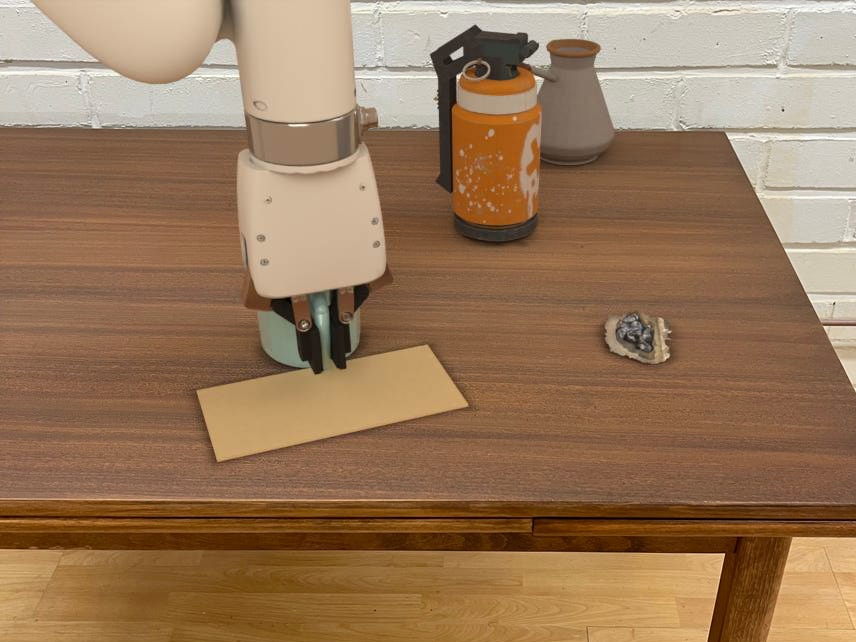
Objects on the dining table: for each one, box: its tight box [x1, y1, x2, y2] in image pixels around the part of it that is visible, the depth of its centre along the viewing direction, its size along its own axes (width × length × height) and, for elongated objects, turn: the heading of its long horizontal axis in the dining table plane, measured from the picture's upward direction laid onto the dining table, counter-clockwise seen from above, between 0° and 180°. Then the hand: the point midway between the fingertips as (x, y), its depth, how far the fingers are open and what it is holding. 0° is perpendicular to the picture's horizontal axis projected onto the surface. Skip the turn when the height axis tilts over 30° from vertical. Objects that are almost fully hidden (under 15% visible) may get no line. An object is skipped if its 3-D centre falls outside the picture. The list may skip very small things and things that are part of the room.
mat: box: [196, 344, 469, 463], centre depth 77 cm, size 20×10×1 cm, turn 112°
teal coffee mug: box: [255, 290, 362, 373], centre depth 79 cm, size 12×9×10 cm
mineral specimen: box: [603, 310, 673, 365], centre depth 84 cm, size 7×8×2 cm
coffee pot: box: [471, 38, 616, 166], centre depth 113 cm, size 21×12×15 cm, turn 130°
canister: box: [429, 24, 542, 243], centre depth 97 cm, size 9×11×20 cm
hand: (325, 362), depth 77 cm, fingers closed on teal coffee mug, 1 cm apart
